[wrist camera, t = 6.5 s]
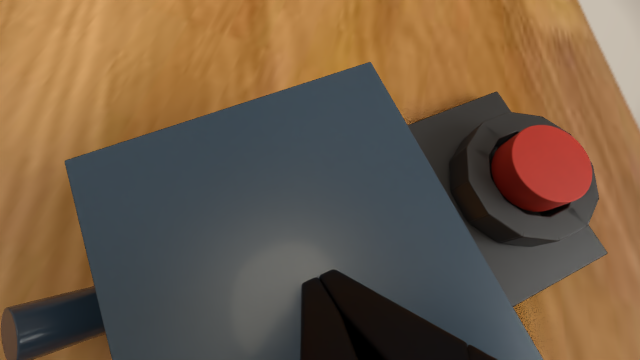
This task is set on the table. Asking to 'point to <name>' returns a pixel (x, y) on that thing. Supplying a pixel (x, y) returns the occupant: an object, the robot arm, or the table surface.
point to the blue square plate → (278, 227)
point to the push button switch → (494, 209)
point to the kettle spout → (51, 324)
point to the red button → (541, 169)
